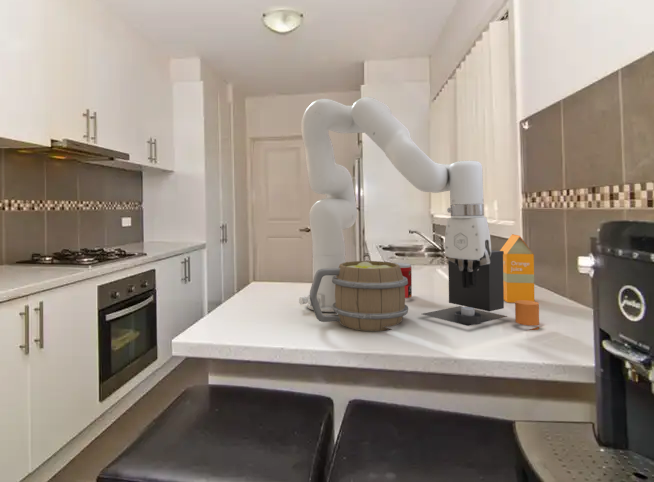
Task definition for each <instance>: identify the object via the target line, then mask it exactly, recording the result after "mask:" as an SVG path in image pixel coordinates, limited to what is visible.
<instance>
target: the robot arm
mask: <svg viewBox="0 0 654 482" xmlns="http://www.w3.org/2000/svg"><path fill="white" fill-rule="evenodd" d="M300 122H301V123H300V130H301V131H300V133H301V138H302V144H303V149H304V159H305V166H306V172H307V179H308V185H309V187H310V190H311V191H312V192H314V193H315V194H319V195H325V198H321V199H319V200H317V201H315V203H313V204H312V206H311V207H310V209H309V213H308V221H309V227H310V228H309V229H310V234H311V251H312V253H311V254H312V281H313V280H314V277H315V274H316V272H317V271H318V270H320V269H331V268H339V265H340V264H341V263H345V262H347V261H346V242H345V241H346V240H345V236H344V231H345V230H348V229H350V228H351V227H353V226H354V225H355V223H356V221H357V218H358V207H357V200H356V194H355V187H354V182H353V181H354V180H353V177H352V174H351V173H350V171H349V169H348V168H347V167H346V166H344V165H342V164H339V163H337V162H336V159H335V151H334V150H335V149H334V145H333V142H332V140H331V137H330V135H329V131H331V132H333V133H338V134H365V135H366V136H368V138H370V140H371V141H372V142H373V143H375V144H376V146H377V147H378V148H379V149H380V150H381V151H382V152H383V153H384V154H385V156H386V157H387V159H388V160H389V161H390V163H391V164H392V165H393V167H394V168H395V169H396V170H397V171H398V173H400V174H401V175H402V177H404V178H405V179H406V180H407V181H408V182H409V183H410V185H412V186H413V187H414V188H416V189H417V190H419V191H421V192H425V193H432V194H433V193H434V194H437V193H439V194H440V193H445V192H449V198H450V199H449V200H450V201H449V203H450V204H449V205H450V207H448V208H447V211H446V212H447V213H448V214H450V217H447V220H446V224H445V231H444V232H445V235H444V254H445V256H446V257H447V258H448V257H449V261H451V262H454V263H456V264H457V265H458V267H459V270H460V271H462V286H463V288H475V287H476V284H477V271H478V270H479V268H480V267H481V266H482V265H487V264H490V258H489V257H490V256H491V250H492V240H491V232H490V226H489V223H488V219H487V217H485V205H484V203H485V201H484V175H483V174H484V172H483V165H482V163H481V162H480V161H478V160H461V161H460V160H459V161H455V162H452V163H450V164H449V163H448V164H447V163H439V162H435V161H434V160H432V159H431V157H429V156H428V155H427V154H426V153H425V152H424V151H423V150H422V149H421V148H419V146H418V145H417V144H416V143H415V142H414V140H413V139H412V137H411V131H410V130H409V128H408V127H407V126H406V125H405V124H403V123H402V122H401V121H400V120H399V119H398V118H397V117H396V116H395V115H394V114H393V113H392V110H391V108H390V107H389V106H388V105H387V103H385V102H383V101H381V100H379V99H376V98H374V97H371V96H364V97H361V98H359V99H357V100H356V101H355V102H354V103H353V105H347V104H346V105H345V104H343V103H341V102H339V101H336V100H334V99H331V98H320V99H319V98H318V99H317V100H315V101H312V102H311V104H310V105H309V106H307V108H306V110H305V111H304V113H303V115H302V118H301V121H300ZM480 258H482V259H481V260H480ZM463 260H464V261H463ZM333 276H335V275H326V276H323V277H322V279H321V282H320V285H319V288H318V292H317V300H318V303H319V306H320V309H321V312H322V313H335V312H334V311H333V308H332V305H333V303H335V284H334V283H333V282H332V278H333ZM298 303H299V304H300V305H305V304H307V309H309V310H311V311H314V310H313V307H312V304H311V301H310V296H309V295H307V296H300V297H298Z"/></svg>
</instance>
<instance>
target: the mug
mask: <svg viewBox="0 0 654 482" xmlns="http://www.w3.org/2000/svg"><path fill="white" fill-rule="evenodd" d="M395 263H396V262H390V261H379V260H378V261H377V260H356V261H346V262H345V263H341V264H340V265H339V268H331V269H320V270H318V271H317V272H316V274H315V277H314V280H313V279H312V283H311V285H310V290H309V295H308V296H310V301H311V304H312V307H313V310H312V311H313V313H314V315H315V317H316V319H317V320H318V322H321V323H328V322H329V323H330V322H339V323H340V325H342V326H344V327H346V328H348V329H351V330H356V331H363V332H386V331H391V330H393V329H392V328H390V327H392V326H396V325H399V324H400V323H401V322H402V320H403V317H404V316H406V315H407V314H408V313H409V306H408V305H407V304H406V298H405V285H407V284H408V280H407V278H406V277H404V276H403V275H402V272H401V269H400V266H399V265H398V264H395ZM326 275H335V276H333V278H332V282H333V283H334V284H335V303H333V305H332V308H333V310H332V311H334V312H333V313H335V314H323V312H321V309H320V306H319V303H318V300H317V292H318V288H319V285H320V282H321V279H322V277H323V276H326Z"/></svg>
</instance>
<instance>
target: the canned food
mask: <svg viewBox="0 0 654 482" xmlns="http://www.w3.org/2000/svg"><path fill="white" fill-rule="evenodd" d="M394 263H395V264H398V265H399V266H400V269H401V272H402V275H403V276H404V277H406V278H407V280H408V284H407V285H405V299H409V298H412V296H413V295H412V293H413V292H412V291H413V288H412V287H413V284H412V283H413V282H412V281H413V280H412V279H413V278H412V277H413V275H412V264H411V263H408V262H407V263H406V262H394Z"/></svg>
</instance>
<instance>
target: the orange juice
mask: <svg viewBox="0 0 654 482" xmlns="http://www.w3.org/2000/svg"><path fill="white" fill-rule="evenodd" d="M499 251H504V254H503V286H504V302H506V303H511V304H512V303H515V301H518V300H527V301H534V302H536V301H535V253H534V252H533V251H532V249H530V246H528V245H527V244H526V242H525V241H524V240H523V238H522V237H521V235H518V234H513V233H511V235H510V236H509V237H508V239H507V240H506V242H505V243H504V244H503V246H502V247H501V248H500V249H499Z"/></svg>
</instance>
